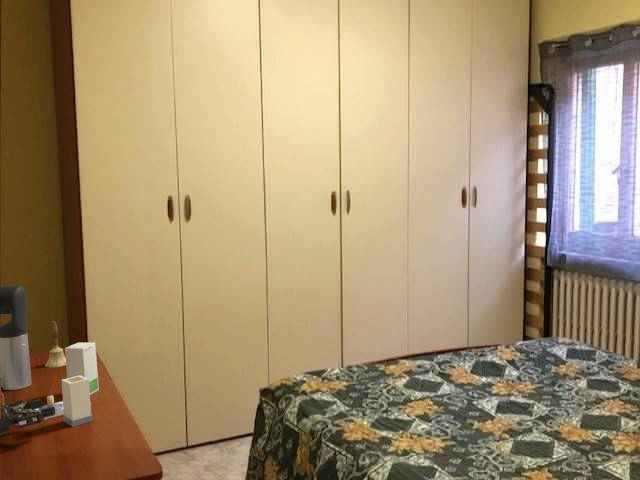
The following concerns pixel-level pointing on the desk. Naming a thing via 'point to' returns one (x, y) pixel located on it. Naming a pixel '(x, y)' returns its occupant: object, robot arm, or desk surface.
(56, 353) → the hand bell
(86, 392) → the sleeve
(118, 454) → the desk surface
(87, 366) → the skincare box
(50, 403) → the pin board
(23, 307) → the robot arm
